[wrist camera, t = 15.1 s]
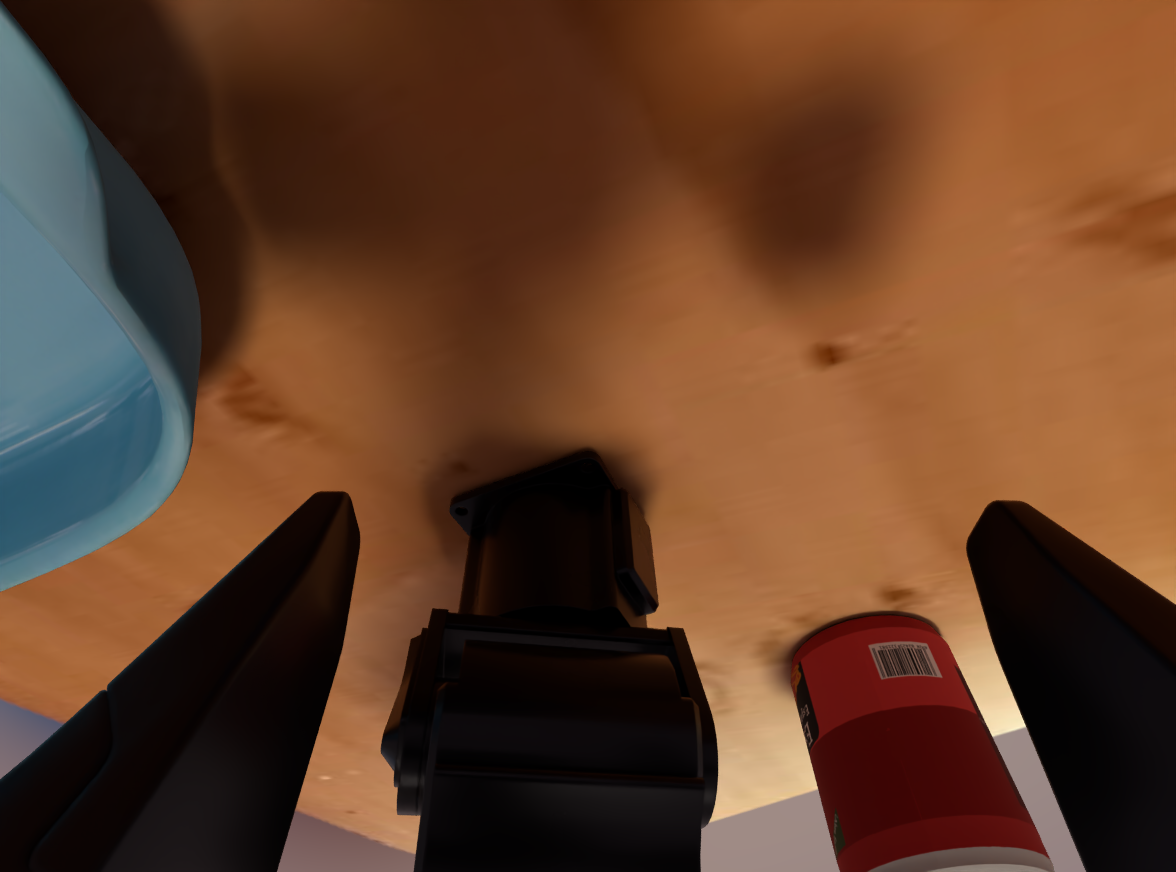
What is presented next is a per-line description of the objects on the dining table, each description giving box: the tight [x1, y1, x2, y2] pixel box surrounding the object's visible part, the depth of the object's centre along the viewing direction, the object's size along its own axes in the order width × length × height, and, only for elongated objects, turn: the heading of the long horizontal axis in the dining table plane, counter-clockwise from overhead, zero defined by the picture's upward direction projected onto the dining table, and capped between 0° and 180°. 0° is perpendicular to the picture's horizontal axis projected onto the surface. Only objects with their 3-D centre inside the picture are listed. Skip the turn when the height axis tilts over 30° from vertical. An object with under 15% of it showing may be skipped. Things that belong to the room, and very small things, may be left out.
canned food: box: [791, 615, 1054, 872], centre depth 32 cm, size 8×8×11 cm
